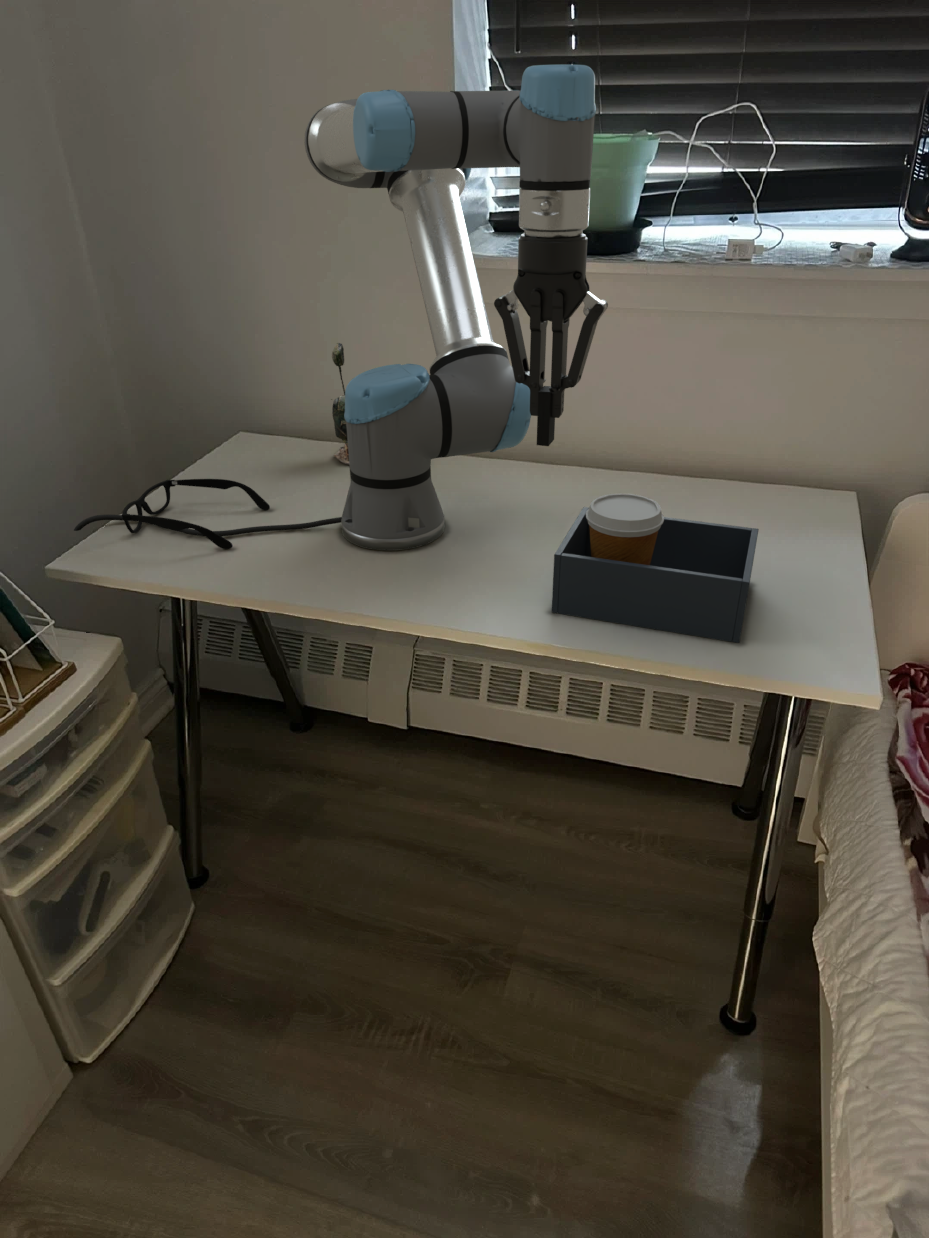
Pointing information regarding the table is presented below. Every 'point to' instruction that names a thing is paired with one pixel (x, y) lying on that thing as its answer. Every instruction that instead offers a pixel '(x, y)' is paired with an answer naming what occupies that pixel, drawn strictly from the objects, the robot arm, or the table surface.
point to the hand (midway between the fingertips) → (545, 442)
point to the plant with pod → (340, 408)
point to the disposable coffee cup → (624, 527)
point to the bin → (661, 579)
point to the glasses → (182, 525)
